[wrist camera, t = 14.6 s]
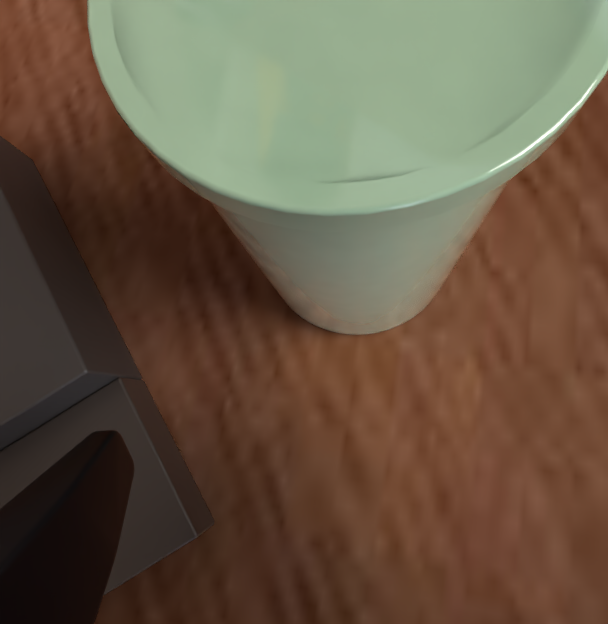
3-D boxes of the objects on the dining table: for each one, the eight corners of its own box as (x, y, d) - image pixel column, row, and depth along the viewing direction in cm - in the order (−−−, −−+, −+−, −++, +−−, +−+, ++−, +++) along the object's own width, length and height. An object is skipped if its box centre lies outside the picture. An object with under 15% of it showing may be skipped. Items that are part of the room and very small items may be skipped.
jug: (472, 335, 14) (706, 177, 5) (261, 350, 15) (72, 241, 5) (440, 85, 16) (557, -414, 6) (253, 109, 17) (99, -305, 7)
